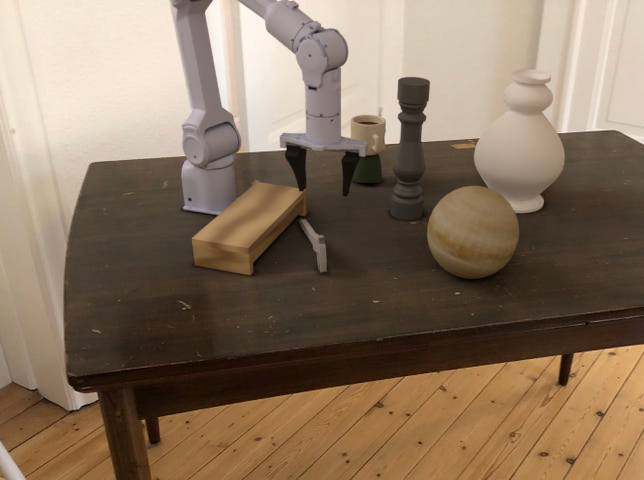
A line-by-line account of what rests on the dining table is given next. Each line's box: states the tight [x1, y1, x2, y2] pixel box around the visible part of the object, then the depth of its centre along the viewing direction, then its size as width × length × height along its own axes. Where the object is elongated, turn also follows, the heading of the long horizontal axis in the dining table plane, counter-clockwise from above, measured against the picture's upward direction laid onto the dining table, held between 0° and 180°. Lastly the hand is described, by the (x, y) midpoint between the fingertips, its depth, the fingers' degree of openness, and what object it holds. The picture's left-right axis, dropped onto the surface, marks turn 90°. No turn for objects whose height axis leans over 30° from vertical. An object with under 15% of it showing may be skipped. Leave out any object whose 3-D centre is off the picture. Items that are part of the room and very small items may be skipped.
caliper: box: [299, 218, 328, 274], centre depth 129 cm, size 20×1×6 cm, turn 16°
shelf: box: [191, 181, 308, 276], centre depth 131 cm, size 10×26×5 cm, turn 165°
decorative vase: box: [473, 68, 566, 214], centre depth 145 cm, size 18×18×25 cm
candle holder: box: [390, 76, 431, 221], centre depth 137 cm, size 6×6×25 cm
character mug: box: [350, 114, 387, 185], centre depth 153 cm, size 11×7×13 cm, turn 24°
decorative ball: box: [426, 185, 520, 280], centre depth 121 cm, size 15×15×15 cm
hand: (324, 191), depth 127 cm, fingers open, 7 cm apart
